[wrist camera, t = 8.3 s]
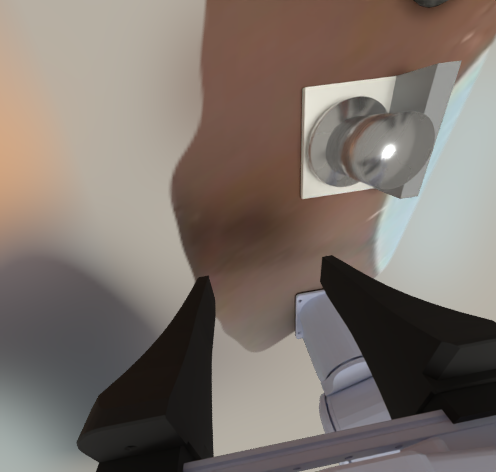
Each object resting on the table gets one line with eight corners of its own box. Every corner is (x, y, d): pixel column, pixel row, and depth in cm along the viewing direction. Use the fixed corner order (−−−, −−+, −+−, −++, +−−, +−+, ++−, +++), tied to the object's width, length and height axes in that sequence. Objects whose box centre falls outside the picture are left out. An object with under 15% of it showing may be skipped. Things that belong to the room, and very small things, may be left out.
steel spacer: (369, 172, 17) (418, 186, 13) (322, 176, 17) (356, 192, 13) (383, 114, 15) (447, 108, 11) (329, 117, 15) (373, 113, 11)
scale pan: (375, 179, 19) (381, 181, 18) (306, 189, 18) (309, 192, 18) (392, 92, 15) (400, 90, 15) (308, 103, 15) (313, 102, 14)
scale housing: (387, 184, 20) (421, 195, 17) (300, 197, 20) (317, 211, 17) (413, 75, 16) (465, 60, 13) (302, 88, 16) (325, 77, 12)
